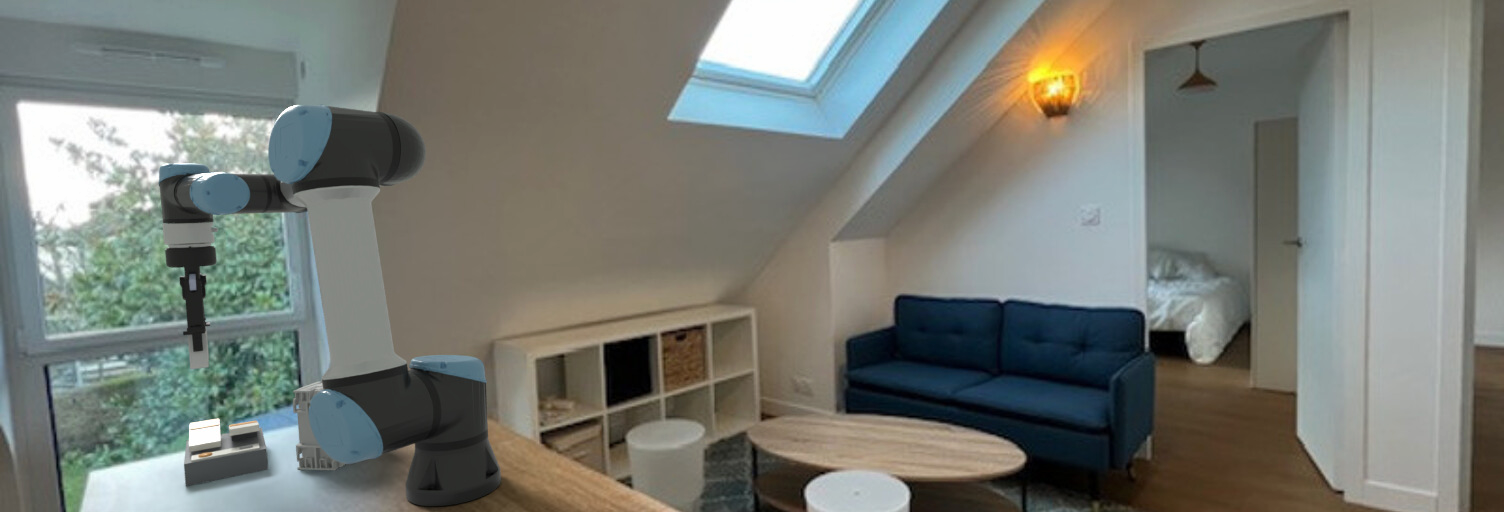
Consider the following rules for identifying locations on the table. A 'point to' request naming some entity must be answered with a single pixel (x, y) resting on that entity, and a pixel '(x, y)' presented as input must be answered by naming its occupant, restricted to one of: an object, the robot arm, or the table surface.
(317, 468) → the circuit breaker
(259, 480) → the table surface
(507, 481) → the table surface
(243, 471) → the switch unit
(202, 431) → the rocker left
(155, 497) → the table surface
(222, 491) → the table surface
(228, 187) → the robot arm
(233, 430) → the rocker right
